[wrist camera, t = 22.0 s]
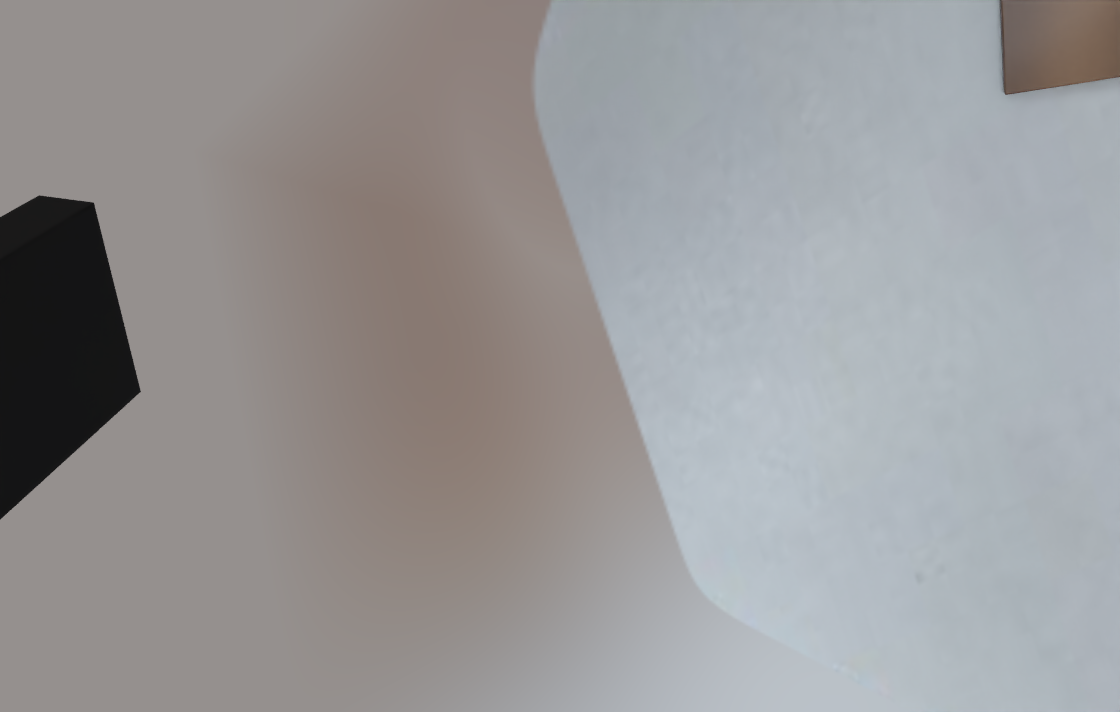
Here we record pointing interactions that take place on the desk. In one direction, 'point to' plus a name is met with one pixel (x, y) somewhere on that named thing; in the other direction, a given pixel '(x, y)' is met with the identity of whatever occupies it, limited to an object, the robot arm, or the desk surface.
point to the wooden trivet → (1058, 42)
